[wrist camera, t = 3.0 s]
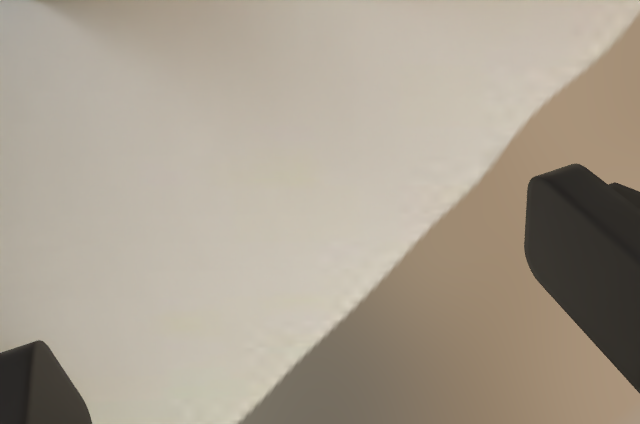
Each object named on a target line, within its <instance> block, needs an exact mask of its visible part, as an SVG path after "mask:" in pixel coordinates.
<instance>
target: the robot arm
mask: <svg viewBox="0 0 640 424" xmlns="http://www.w3.org/2000/svg"><path fill="white" fill-rule="evenodd" d="M526 209H527V210H526V225H525V242H524V244H525V245H524V248H525V255H526V259H527V262H528V265H529V267H530V269H531V271H532V273H533V275H534V276H535V278H536V279H537V280H538V281H539V283H540V284H541V285H542V286H543V287H544V288H545V290H546V291H547V292H548V293H549V294H550V295H551V296H552V297H553V298H554V299H555V301H556V302H557V303H558V304H559V305H560V306H561V307H562V308H563V309H564V310H565V312H567V314H568V315H569V316H570V317H571V318H572V319H573V320H574V321H575V323H576V324H577V325H578V326H579V327H580V328H581V329H582V330H583V331H584V333H586V334H587V336H588V337H589V338H590V339H591V340H592V341H593V342H594V343H595V344H596V346H597V347H598V348H599V349H600V350H601V351H602V352H603V353H604V355H605V356H606V357H607V358H608V359H609V360H610V361H611V362H612V363H613V364H614V366H615V367H616V368H617V369H618V370H619V371H620V372H621V373H622V374H623V375H624V377H626V379H627V380H628V381H629V382H630V383H631V384H632V385H633V386H634V388H635V389H636V390H637V391H638V392H639V393H640V192H639V191H636V190H634V189H631V188H628V187H626V186H623V185H621V184H618V183H612V184H609V185H608V184H606V183H605V182H604V181H602V180H601V179H600V178H599V177H597V176H596V175H595V174H593V173H592V172H591V171H589V170H588V169H587V168H585V167H584V166H582V165H580V164H571V165H568V166H565V167H562V168H559V169H556V170H553V171H551V172H548V173H544V174H541V175H538V176H535V177H533V178H532V179H531V180H530V182H529V184H528V191H527V208H526ZM0 424H92V421H91V417H90V414H89V411H88V409H87V406H86V404H85V402H84V400H83V398H82V397H81V395H80V394H79V392H78V391H77V389H76V388H75V386H74V385H73V383H72V382H71V380H70V379H69V377H68V376H67V374H66V373H65V371H64V370H63V368H62V367H61V365H60V364H59V362H58V360H57V359H56V357H55V356H54V354H53V353H52V351H51V350H50V348H49V347H48V346H47V345H46V344H45V343H44V342H43V341H40V340H38V341H35V342H32V343H29V344H26V345H23V346H20V347H17V348H14V349H11V350H8V351H5V352H2V353H0Z"/></svg>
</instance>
